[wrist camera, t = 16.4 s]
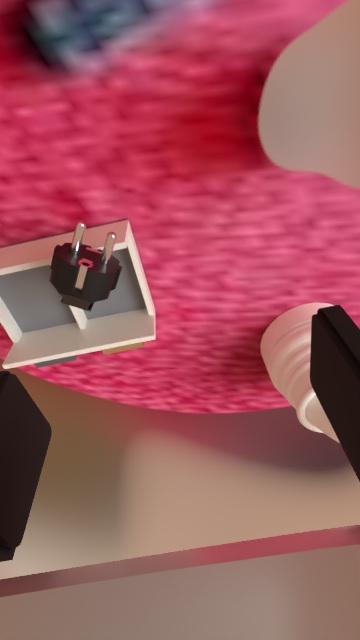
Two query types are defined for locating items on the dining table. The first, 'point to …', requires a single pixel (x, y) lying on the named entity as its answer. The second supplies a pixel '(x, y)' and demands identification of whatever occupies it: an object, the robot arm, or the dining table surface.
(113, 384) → the dining table surface
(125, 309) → the two-cubby white shelf
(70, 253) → the power plug
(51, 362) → the grey flat block
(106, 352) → the tan wooden slab
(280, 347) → the honey pot
